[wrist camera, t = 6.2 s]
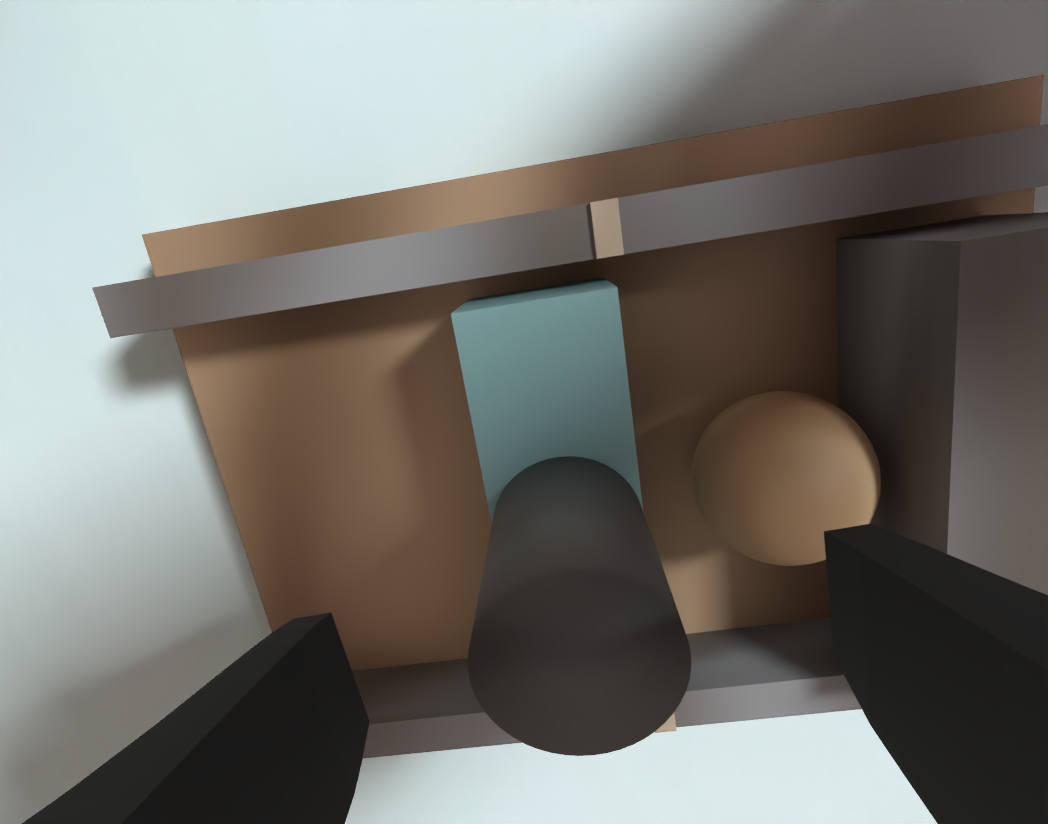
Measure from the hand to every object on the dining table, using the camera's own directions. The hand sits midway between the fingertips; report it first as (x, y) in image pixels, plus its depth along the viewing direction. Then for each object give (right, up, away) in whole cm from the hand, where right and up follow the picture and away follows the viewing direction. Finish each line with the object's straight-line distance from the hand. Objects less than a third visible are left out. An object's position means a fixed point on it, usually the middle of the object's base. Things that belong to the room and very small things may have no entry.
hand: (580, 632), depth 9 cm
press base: (+1, +2, +7) cm, 8 cm away
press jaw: (0, +2, +6) cm, 6 cm away
